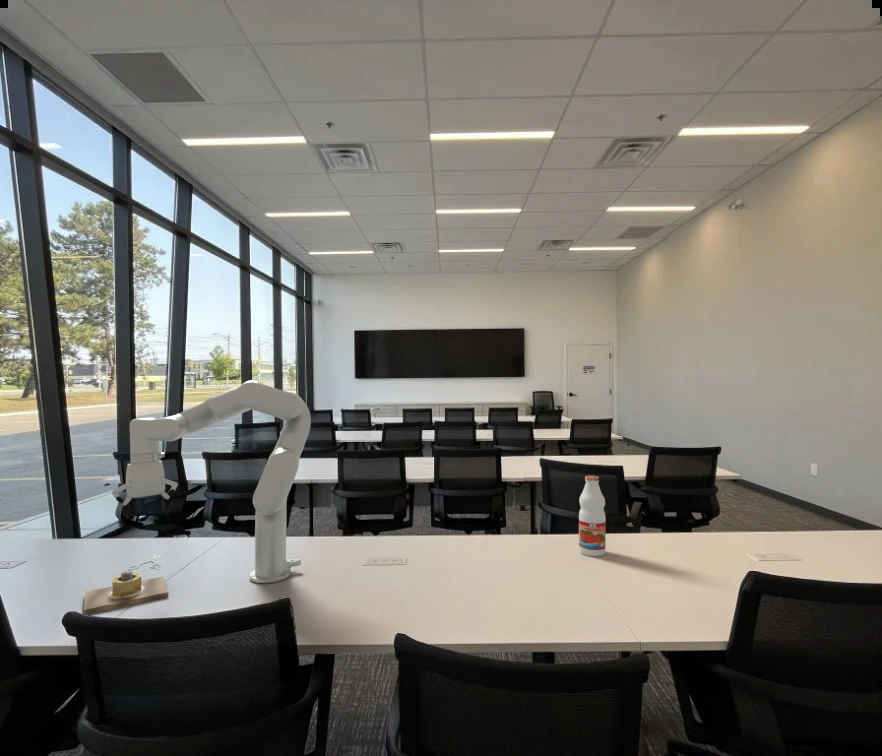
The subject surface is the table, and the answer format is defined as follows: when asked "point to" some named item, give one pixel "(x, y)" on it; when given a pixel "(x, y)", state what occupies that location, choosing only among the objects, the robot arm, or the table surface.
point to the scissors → (149, 561)
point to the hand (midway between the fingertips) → (146, 514)
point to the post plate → (106, 601)
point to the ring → (126, 586)
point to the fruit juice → (592, 519)
